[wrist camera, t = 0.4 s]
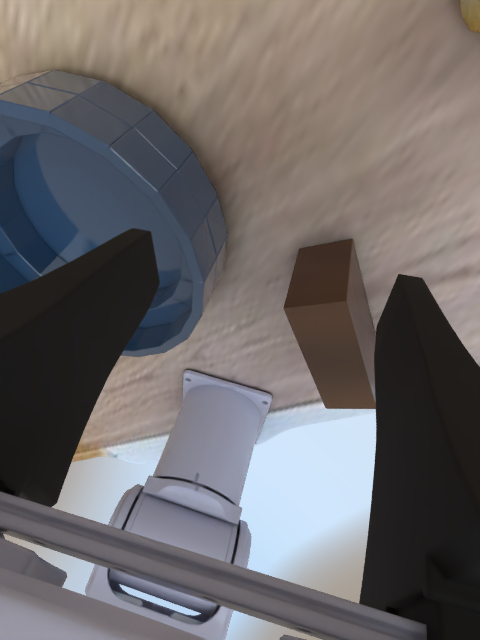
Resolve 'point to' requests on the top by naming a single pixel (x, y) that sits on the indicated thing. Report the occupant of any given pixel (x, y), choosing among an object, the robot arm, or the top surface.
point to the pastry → (471, 14)
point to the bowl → (105, 195)
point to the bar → (334, 324)
